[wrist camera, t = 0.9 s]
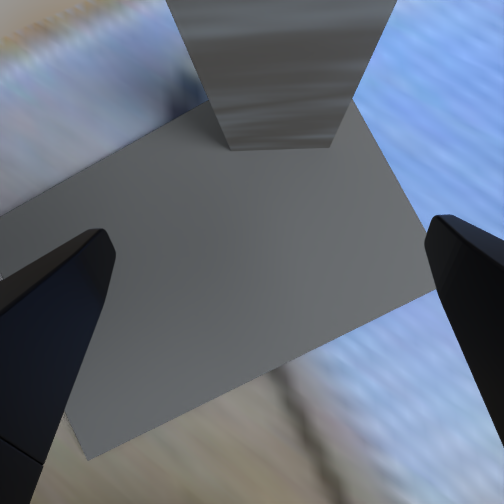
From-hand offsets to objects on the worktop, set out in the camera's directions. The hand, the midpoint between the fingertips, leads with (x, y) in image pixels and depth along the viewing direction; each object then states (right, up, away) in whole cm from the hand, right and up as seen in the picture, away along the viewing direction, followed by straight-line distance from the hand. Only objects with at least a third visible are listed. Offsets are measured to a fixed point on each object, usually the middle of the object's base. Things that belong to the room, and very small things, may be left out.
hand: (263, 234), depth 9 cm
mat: (-4, -1, +13) cm, 14 cm away
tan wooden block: (+2, +8, +12) cm, 15 cm away
